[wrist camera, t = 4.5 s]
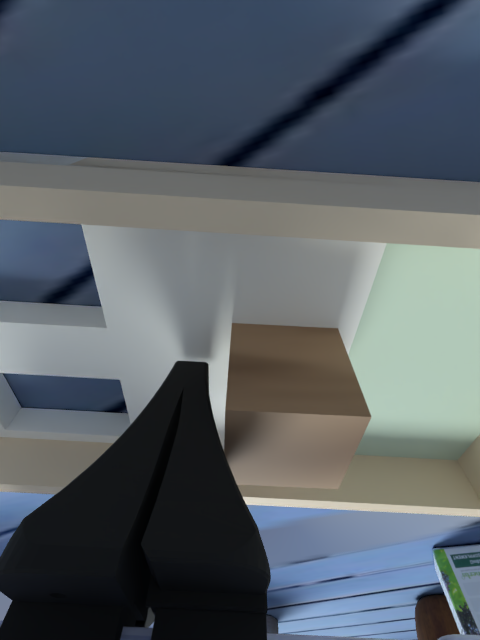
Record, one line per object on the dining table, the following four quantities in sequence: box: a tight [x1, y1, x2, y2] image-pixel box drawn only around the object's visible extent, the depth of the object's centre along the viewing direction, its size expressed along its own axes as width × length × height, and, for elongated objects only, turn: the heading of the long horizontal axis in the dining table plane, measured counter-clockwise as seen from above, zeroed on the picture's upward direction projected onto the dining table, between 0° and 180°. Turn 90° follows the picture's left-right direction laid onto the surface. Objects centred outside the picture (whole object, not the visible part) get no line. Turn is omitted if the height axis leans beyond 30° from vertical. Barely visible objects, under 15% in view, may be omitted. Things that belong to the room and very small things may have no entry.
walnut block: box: [224, 323, 371, 489], centre depth 12 cm, size 4×4×4 cm
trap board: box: [0, 152, 480, 517], centre depth 13 cm, size 15×28×4 cm, turn 87°
